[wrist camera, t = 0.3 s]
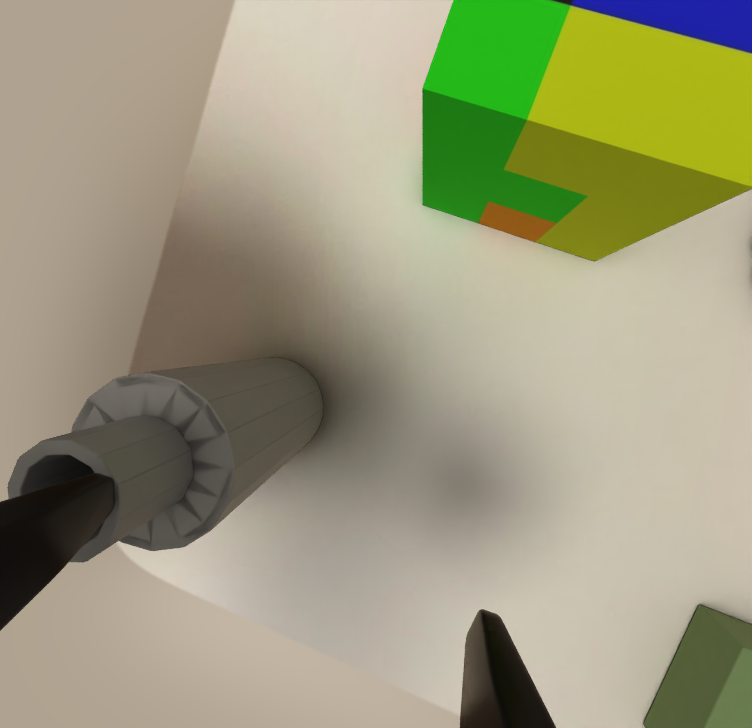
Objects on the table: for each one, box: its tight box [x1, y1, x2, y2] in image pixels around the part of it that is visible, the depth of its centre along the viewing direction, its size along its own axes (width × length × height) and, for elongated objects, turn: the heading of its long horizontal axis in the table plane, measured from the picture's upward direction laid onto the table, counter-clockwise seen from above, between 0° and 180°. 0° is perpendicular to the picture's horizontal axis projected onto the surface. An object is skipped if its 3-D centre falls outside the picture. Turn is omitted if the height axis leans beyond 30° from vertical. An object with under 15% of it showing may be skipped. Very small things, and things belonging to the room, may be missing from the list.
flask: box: [8, 357, 323, 562], centre depth 16 cm, size 6×6×14 cm
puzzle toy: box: [423, 0, 752, 261], centre depth 15 cm, size 10×10×10 cm
